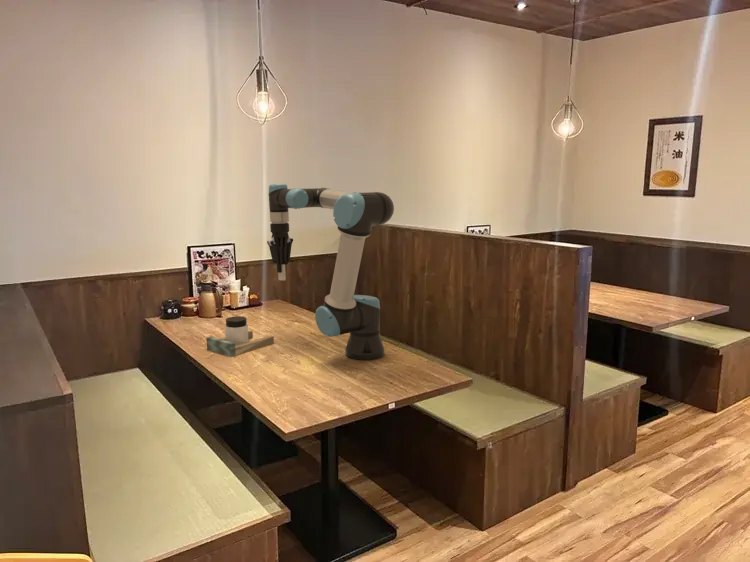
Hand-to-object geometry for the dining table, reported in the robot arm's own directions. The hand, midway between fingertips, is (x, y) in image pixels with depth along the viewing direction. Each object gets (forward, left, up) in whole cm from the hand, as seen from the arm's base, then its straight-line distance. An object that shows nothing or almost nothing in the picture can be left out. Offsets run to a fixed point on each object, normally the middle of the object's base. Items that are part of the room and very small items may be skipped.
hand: (282, 280), depth 237 cm
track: (+8, +15, -26) cm, 31 cm away
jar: (+8, +18, -26) cm, 33 cm away
